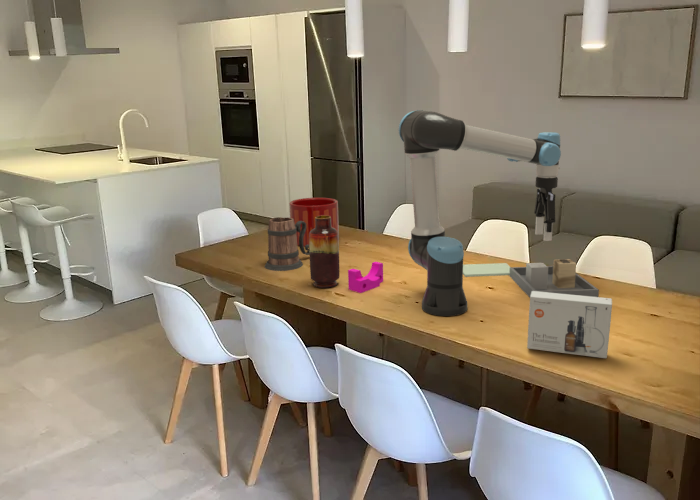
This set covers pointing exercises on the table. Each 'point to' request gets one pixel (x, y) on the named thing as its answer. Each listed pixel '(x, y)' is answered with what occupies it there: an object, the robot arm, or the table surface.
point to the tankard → (285, 244)
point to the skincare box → (569, 323)
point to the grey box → (537, 275)
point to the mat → (486, 269)
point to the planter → (313, 213)
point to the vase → (324, 253)
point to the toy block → (365, 278)
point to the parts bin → (580, 284)
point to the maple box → (564, 273)
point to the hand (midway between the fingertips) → (543, 237)
